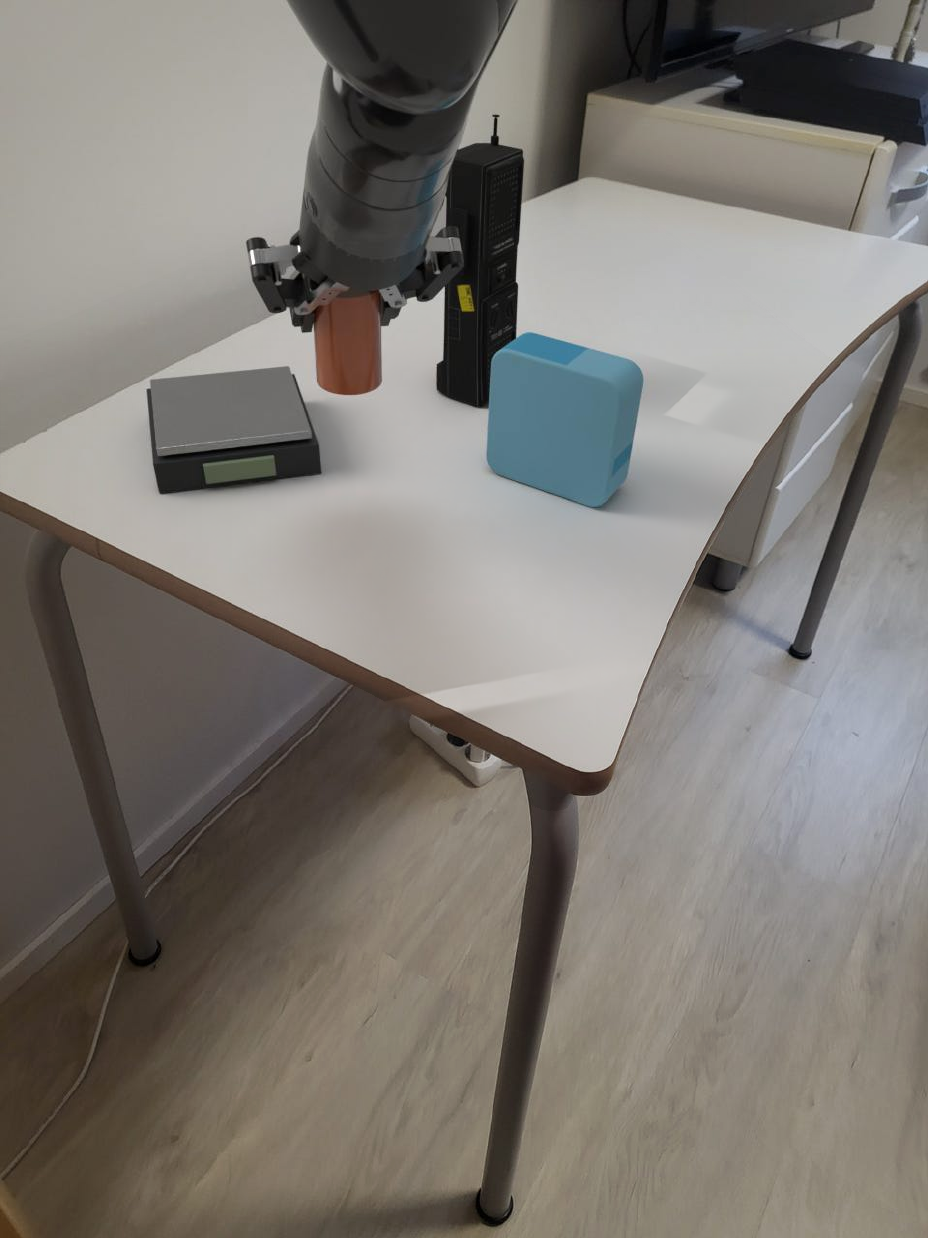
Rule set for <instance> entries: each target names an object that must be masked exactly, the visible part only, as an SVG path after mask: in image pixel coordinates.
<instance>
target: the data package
mask: <svg viewBox="0 0 928 1238" xmlns="http://www.w3.org/2000/svg"><path fill="white" fill-rule="evenodd" d="M643 386H644V375H643V371H642V370H641V368H640V366H639V365H638V363H636V362H635V361H633V360H632V359H629V358H626V357H622V356H619V355H615V354H611V353H607V352H604V351H600V350H597V349H594V348H590V347H585V346H582V345H579V344H576V343H573V342H568V341H565V340H562V339H558V338H554V337H550V336H547V335H543V334H539V333H535V332H533V331H528V332H524V333H522V334H520V335H518V337H517V336H516V339H515V340H513V341H512V342H510V343H509V344H508V345H506V346H505V347H503V348H502V349H500V350H499V351H498V352H496V353H495V355H494V356H493V358H492V362H491V377H490V395H489V402H488V413H487V415H488V417H487V434H486V452H485V453H486V454H485V455H486V462H487V464H488V466H489V468H490V469H491V470H492V471H493V472H494V473H495V474H496V475H498V476H501V477H504V478H506V479H509V480H512V481H515V482H518V483H520V484H524V485H526V486H530V487H533V488H535V489H538V490H541V491H544V492H547V493H549V494H552V495H555V496H558V497H561V498H564V499H567V500H569V501H572V502H575V503H578V504H581V505H584V506H587V507H589V508H590V507H591V508H597V507H600V506H602V505H604V504H605V503H606V502H607V501H608V500H609V499H610V498H611V497H612V496H613V495H614V493H615V492H616V491H617V490H618V489H619V488H620V487H621V486H622V485H623V483H624V482H625V481H626V480H627V478H628V475H629V469H630V463H631V457H632V452H633V447H634V440H635V434H636V428H637V422H638V415H639V409H640V404H641V398H642V393H643V388H644V387H643Z"/></svg>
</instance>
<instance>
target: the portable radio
mask: <svg viewBox="0 0 928 1238" xmlns="http://www.w3.org/2000/svg"><path fill="white" fill-rule="evenodd" d="M500 116H501V115H500V114H492V115H491V117H492V118H493V130H492V131H493V132H492V135H490V142H475V143H472V144H469V145H466V146H464V147H461V148H458V150H457V153H456V155H455V158H454V161H453V163H452V166H451V169H450V172H449V179H448V185H447V190H446V194H445V200H446V201H445V202H446V203H445V227H447V226H455V227H457V228H458V233H459V238H460V244H461V249H462V255H463V261H464V267H463V268H462V269H461V270H460V271H459V272H458V273H457V274H456V275H455V276H454V277H453V278H452V279H451V280H450V281H449V282H448V283H447V284H446V286H445V287H444V301H443V302H444V303H443V304H444V305H443V306H444V307H443V347H442V348H443V351H442V360H441V361H439V362H438V363H436V369H435V371H436V372H435V373H436V374H435V375H436V376H435V377H436V378H435V379H436V380H435V381H436V383H435V385H436V386H435V387H436V389H435V390H436V391H437V392H439V393H440V394H441V395H444V396H446V397H448V398H450V399H451V398H452V399H454V400H457V401H460V402H463V403H465V404H469V405H472V406H475V407H477V408H480V407H481V408H482V407H484V405H486V404H487V403H489V395H490V377H491V362H492V358H493V356H494V355H495V353H496V352H498V351H499V350H500V349H502V348H503V347H505V346H506V345H508V344H509V343H510V342H512V341H513V340H515V339H516V338H517V326H518V325H517V324H518V301H519V284H518V282H517V269H518V268H517V267H518V249H519V248H518V247H519V244H520V234H521V219H522V218H521V217H522V202H523V201H522V200H523V187H524V170H525V158H524V151H523V148H519V147H514V146H508V145H503V144H499V143H500V136H499V135H498V121H499V120H498V118H500Z"/></svg>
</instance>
